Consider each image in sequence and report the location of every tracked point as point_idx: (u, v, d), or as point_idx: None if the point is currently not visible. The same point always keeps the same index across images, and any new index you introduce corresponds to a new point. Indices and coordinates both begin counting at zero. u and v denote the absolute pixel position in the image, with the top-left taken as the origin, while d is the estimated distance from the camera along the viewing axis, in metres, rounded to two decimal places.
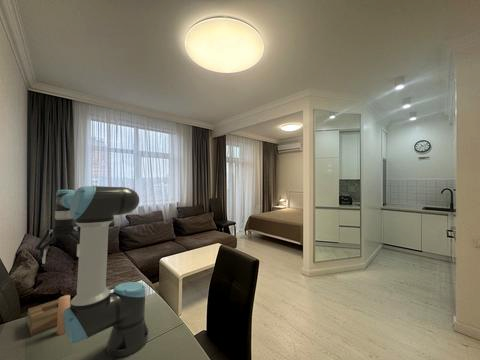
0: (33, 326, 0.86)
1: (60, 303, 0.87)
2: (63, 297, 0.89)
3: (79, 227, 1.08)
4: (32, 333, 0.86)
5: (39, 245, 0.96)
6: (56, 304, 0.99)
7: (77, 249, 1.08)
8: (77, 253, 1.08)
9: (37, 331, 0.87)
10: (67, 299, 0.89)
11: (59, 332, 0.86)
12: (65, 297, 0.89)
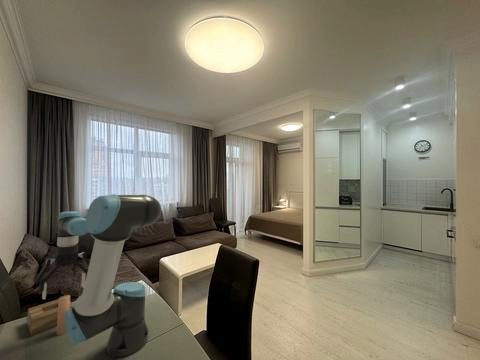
0: (33, 326, 0.86)
1: (60, 303, 0.87)
2: (63, 297, 0.89)
3: (84, 253, 0.95)
4: (32, 333, 0.86)
5: (39, 278, 0.83)
6: (56, 304, 0.99)
7: (82, 278, 0.95)
8: (82, 283, 0.95)
9: (37, 331, 0.87)
10: (67, 299, 0.89)
11: (59, 332, 0.86)
12: (65, 297, 0.89)
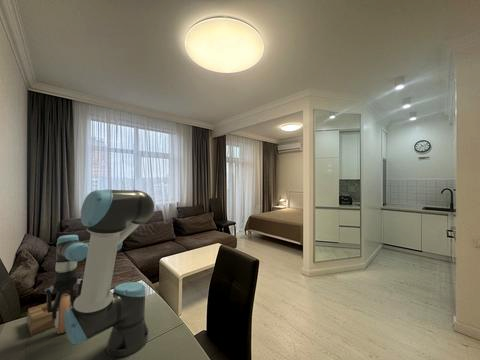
0: (33, 326, 0.86)
1: (60, 301, 0.87)
2: (63, 295, 0.89)
3: (83, 281, 0.94)
4: (32, 333, 0.86)
5: (49, 307, 0.84)
6: None
7: None
8: None
9: (37, 331, 0.87)
10: (67, 297, 0.89)
11: (59, 330, 0.86)
12: (65, 296, 0.89)
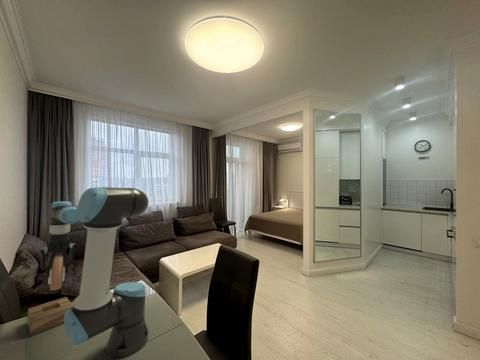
0: (33, 326, 0.86)
1: (54, 261, 0.94)
2: (56, 256, 0.95)
3: (75, 245, 1.00)
4: (32, 333, 0.86)
5: (43, 265, 0.91)
6: (56, 304, 0.99)
7: None
8: None
9: (37, 331, 0.87)
10: (60, 258, 0.95)
11: (52, 288, 0.93)
12: (58, 257, 0.95)
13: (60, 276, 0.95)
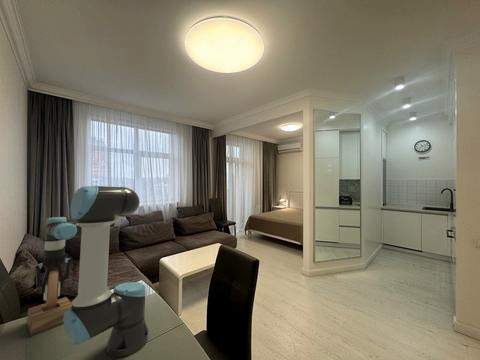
0: (33, 326, 0.86)
1: (49, 277, 0.95)
2: (52, 272, 0.97)
3: (70, 260, 1.01)
4: (32, 333, 0.86)
5: (38, 281, 0.92)
6: (56, 304, 0.99)
7: None
8: (57, 292, 0.98)
9: (37, 331, 0.87)
10: (55, 274, 0.96)
11: (48, 303, 0.94)
12: (53, 272, 0.97)
13: (55, 291, 0.96)
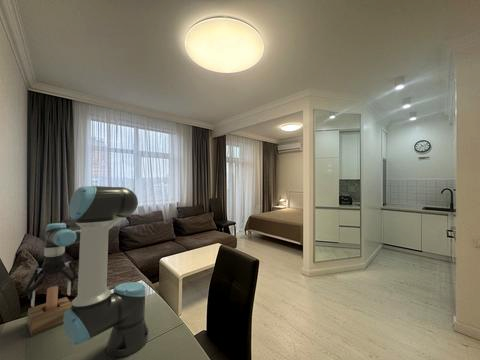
0: (33, 326, 0.86)
1: (48, 293, 0.94)
2: (51, 288, 0.96)
3: (71, 263, 1.01)
4: (32, 333, 0.86)
5: (27, 287, 0.89)
6: None
7: (67, 287, 1.01)
8: (67, 291, 1.01)
9: (37, 331, 0.87)
10: (55, 289, 0.96)
11: None
12: (53, 288, 0.96)
13: (55, 307, 0.96)
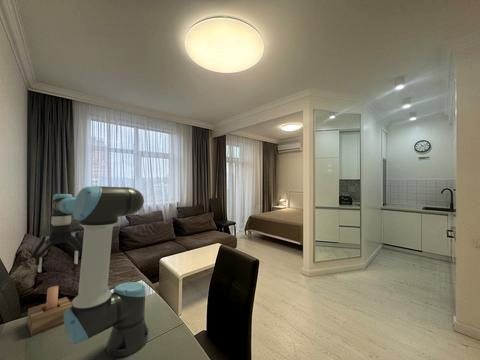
0: (33, 326, 0.86)
1: (48, 293, 0.95)
2: (52, 288, 0.96)
3: (77, 233, 1.04)
4: (32, 333, 0.86)
5: (35, 253, 0.91)
6: None
7: (75, 256, 1.03)
8: (75, 260, 1.03)
9: (37, 331, 0.87)
10: (55, 289, 0.96)
11: None
12: (53, 288, 0.96)
13: (55, 307, 0.96)
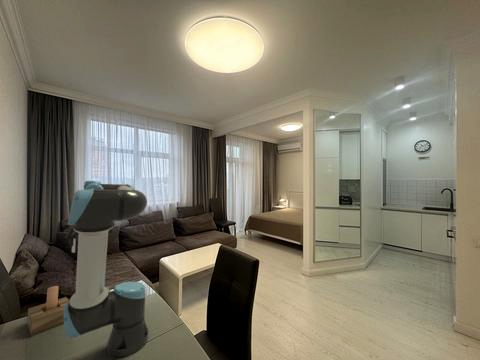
0: (33, 326, 0.86)
1: (49, 293, 0.95)
2: (52, 287, 0.96)
3: None
4: (32, 333, 0.86)
5: (69, 234, 0.98)
6: None
7: None
8: None
9: (37, 331, 0.87)
10: (55, 289, 0.96)
11: None
12: (53, 288, 0.96)
13: (55, 307, 0.96)
